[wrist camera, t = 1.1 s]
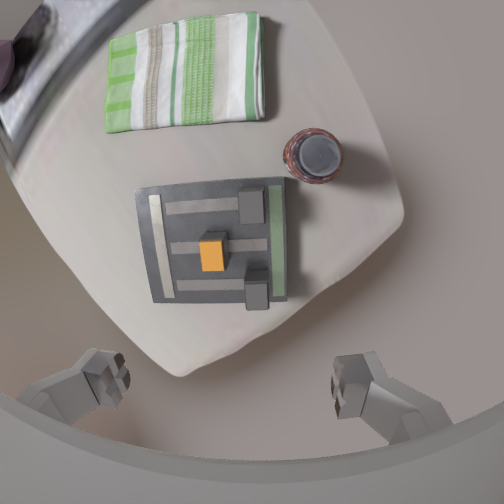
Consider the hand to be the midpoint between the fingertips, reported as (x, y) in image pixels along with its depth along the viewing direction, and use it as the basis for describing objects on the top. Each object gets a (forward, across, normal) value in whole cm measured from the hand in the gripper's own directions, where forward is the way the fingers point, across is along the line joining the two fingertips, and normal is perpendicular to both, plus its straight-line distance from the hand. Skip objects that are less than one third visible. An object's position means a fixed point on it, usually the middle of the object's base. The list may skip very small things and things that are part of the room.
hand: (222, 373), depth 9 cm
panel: (+29, +6, +2) cm, 30 cm away
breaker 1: (+27, 0, -3) cm, 27 cm away
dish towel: (+29, +9, -23) cm, 38 cm away
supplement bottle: (+29, -7, -9) cm, 31 cm away
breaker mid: (+27, +5, +2) cm, 27 cm away
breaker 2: (+27, 0, +8) cm, 28 cm away
